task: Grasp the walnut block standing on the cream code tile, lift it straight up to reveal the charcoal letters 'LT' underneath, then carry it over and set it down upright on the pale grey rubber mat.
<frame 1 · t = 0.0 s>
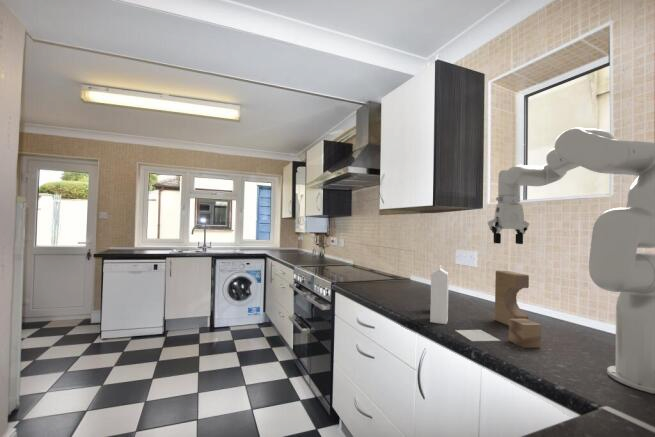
hand: (508, 243, 118), 31 cm above the worktop, fingers open, 9 cm apart
wooden figurine: (437, 312, 129), on the worktop
milk: (439, 321, 117), on the worktop
grey mat: (476, 336, 101), on the worktop
code tile: (524, 344, 95), on the worktop
decorative block: (510, 324, 115), on the worktop
walnut block: (524, 343, 95), resting on code tile
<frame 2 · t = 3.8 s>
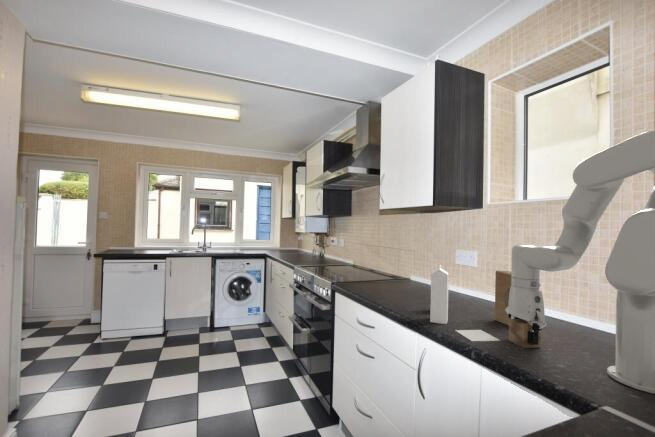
hand: (524, 339, 95), 2 cm above the worktop, fingers closed on walnut block, 6 cm apart
walnut block: (524, 343, 95), resting on code tile, touching gripper
everything else where it was.
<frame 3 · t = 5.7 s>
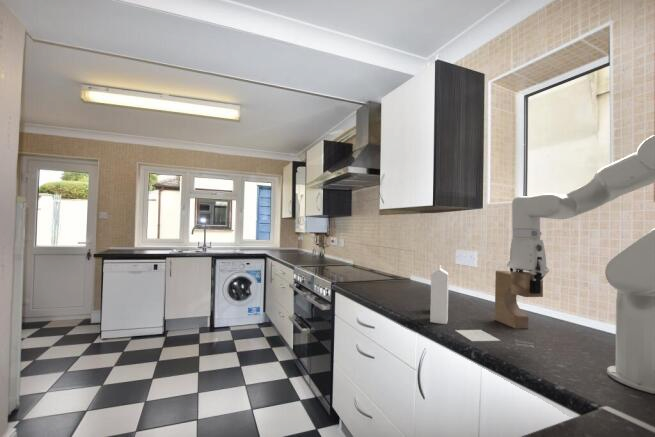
hand: (526, 290, 95), 17 cm above the worktop, fingers closed on walnut block, 6 cm apart
walnut block: (526, 294, 95), point 16 cm above the worktop, touching gripper
everything else where it was.
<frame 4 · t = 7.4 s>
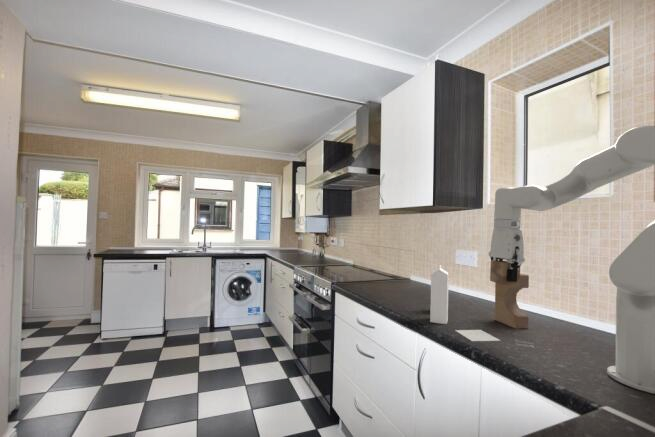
hand: (504, 278, 99), 20 cm above the worktop, fingers closed on walnut block, 6 cm apart
walnut block: (504, 282, 98), point 19 cm above the worktop, touching gripper
everything else where it was.
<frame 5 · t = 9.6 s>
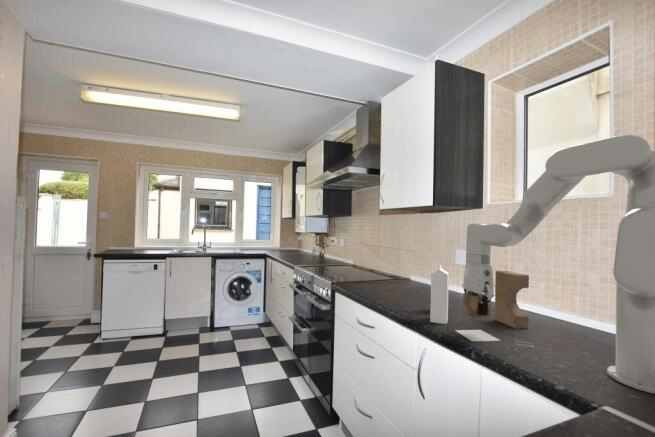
hand: (476, 311, 102), 8 cm above the worktop, fingers closed on walnut block, 6 cm apart
walnut block: (476, 315, 102), point 7 cm above the worktop, touching gripper
everything else where it was.
when the fingers open (2 cm above the worktop, at t = 11.4 s): walnut block stays where it is, resting on grey mat.
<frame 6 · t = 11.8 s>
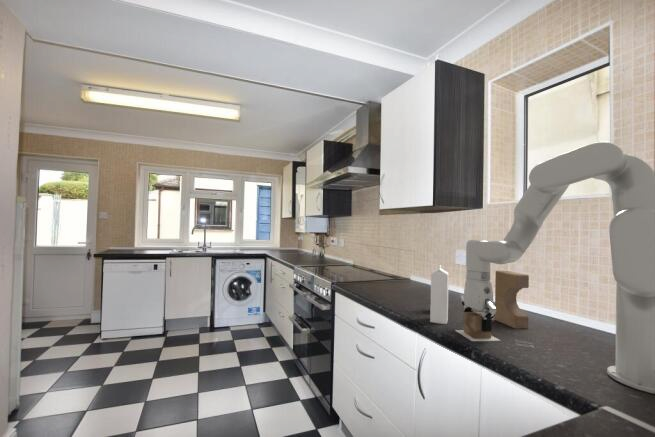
hand: (476, 326, 101), 3 cm above the worktop, fingers open, 9 cm apart
walnut block: (477, 335, 101), resting on grey mat
everything else where it was.
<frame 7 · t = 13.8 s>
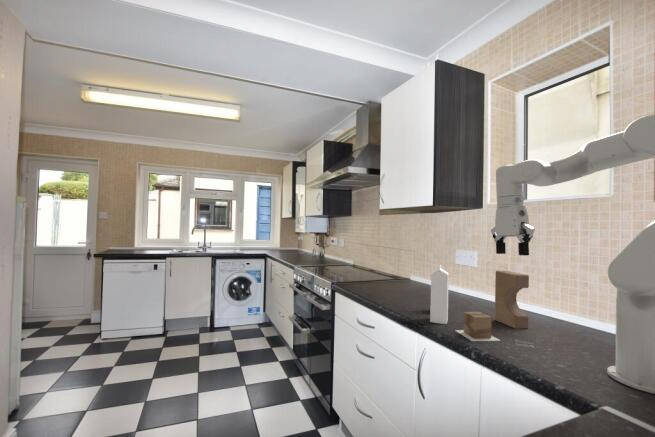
hand: (511, 254, 98), 28 cm above the worktop, fingers open, 9 cm apart
nothing on the worktop moved.
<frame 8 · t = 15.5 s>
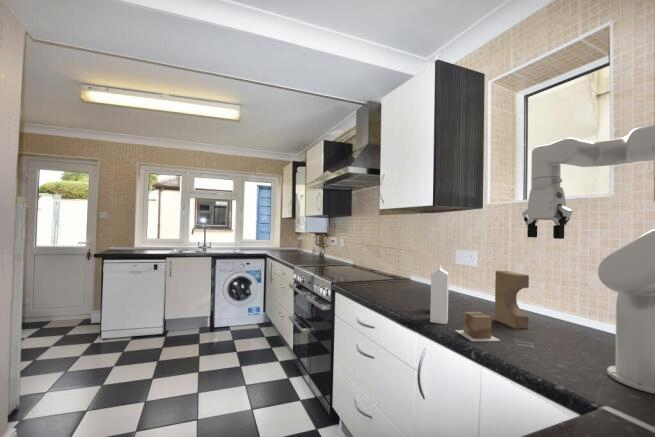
hand: (544, 237, 95), 34 cm above the worktop, fingers open, 9 cm apart
nothing on the worktop moved.
at the end: walnut block inside the target area on the grey mat (0.1 cm from its centre), point 0.3 cm above the grey mat's base; walnut block tilted 0°; walnut block moved 13.5 cm from its start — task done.
